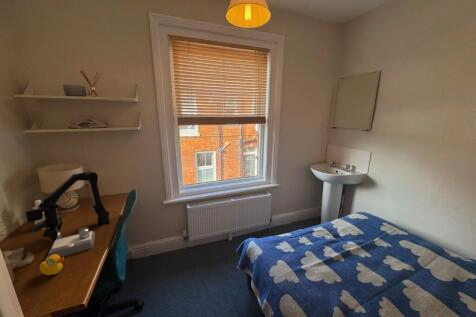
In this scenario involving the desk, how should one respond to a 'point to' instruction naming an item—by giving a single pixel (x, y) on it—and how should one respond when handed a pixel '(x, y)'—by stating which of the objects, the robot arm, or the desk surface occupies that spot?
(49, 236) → the robot arm
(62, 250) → the scale
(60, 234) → the cylinder
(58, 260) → the duckling
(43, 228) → the bath foam
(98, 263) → the desk surface
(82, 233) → the cylinder
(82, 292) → the desk surface
